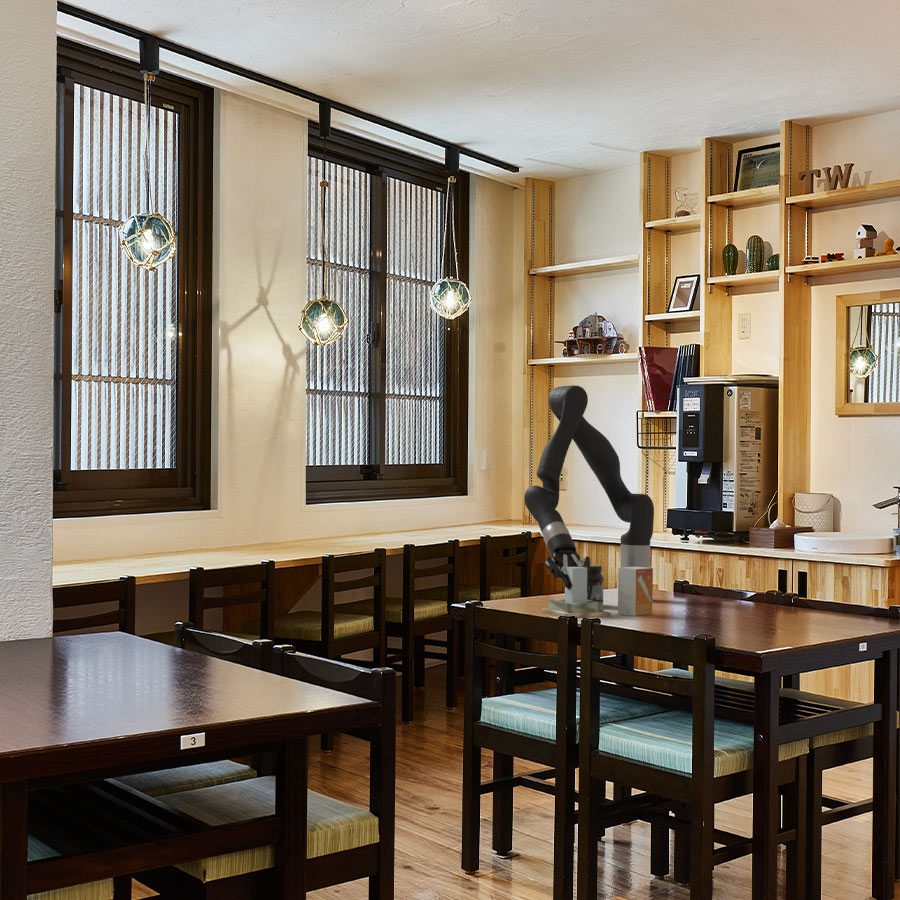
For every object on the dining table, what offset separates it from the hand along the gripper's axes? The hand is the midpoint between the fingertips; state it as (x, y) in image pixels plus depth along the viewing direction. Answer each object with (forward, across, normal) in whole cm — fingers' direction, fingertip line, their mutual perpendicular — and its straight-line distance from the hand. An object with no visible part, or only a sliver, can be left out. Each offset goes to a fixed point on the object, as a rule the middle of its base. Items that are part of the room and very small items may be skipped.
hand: (578, 587), depth 302 cm
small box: (+8, +16, +3) cm, 18 cm away
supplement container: (-8, +13, +19) cm, 25 cm away
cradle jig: (+4, 0, +6) cm, 8 cm away
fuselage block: (+3, 0, +5) cm, 6 cm away
